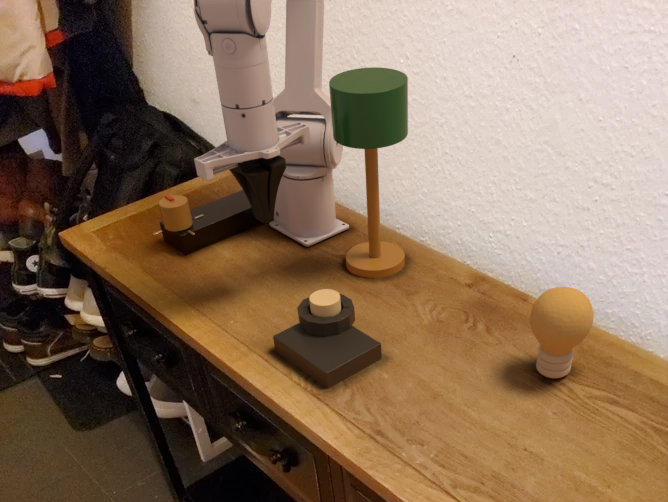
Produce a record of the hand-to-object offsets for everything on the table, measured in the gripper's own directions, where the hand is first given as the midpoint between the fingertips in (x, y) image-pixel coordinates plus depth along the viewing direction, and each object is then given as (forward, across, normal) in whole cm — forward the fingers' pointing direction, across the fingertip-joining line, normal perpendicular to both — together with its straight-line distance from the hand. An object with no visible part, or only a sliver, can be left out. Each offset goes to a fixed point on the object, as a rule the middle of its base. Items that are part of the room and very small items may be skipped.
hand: (264, 219), depth 90 cm
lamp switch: (+6, -1, -13) cm, 15 cm away
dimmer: (+10, +4, +20) cm, 23 cm away
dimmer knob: (+7, -2, +20) cm, 21 cm away
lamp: (+10, +14, -4) cm, 18 cm away
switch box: (+10, -3, -15) cm, 19 cm away
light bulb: (+10, +12, -36) cm, 39 cm away
